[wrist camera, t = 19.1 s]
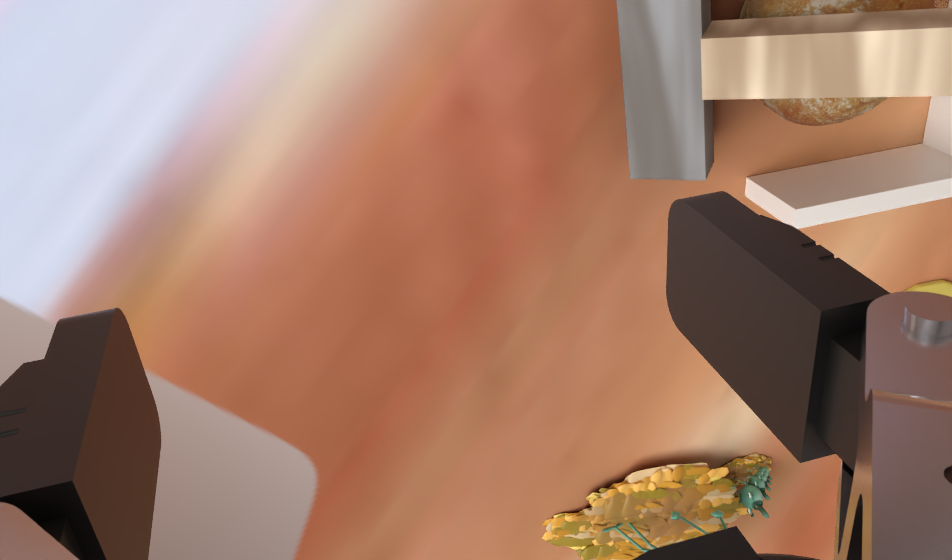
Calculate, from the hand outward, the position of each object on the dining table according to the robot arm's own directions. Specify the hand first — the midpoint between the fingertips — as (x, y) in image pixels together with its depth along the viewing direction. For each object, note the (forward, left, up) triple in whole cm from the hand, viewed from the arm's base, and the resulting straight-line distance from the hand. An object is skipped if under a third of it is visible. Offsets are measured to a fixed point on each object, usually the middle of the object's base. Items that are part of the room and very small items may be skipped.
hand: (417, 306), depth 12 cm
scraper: (-3, +17, -29) cm, 34 cm away
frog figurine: (+24, +36, -30) cm, 53 cm away
